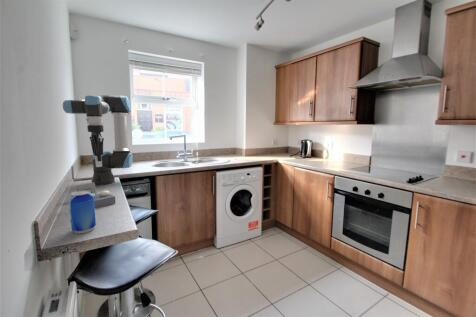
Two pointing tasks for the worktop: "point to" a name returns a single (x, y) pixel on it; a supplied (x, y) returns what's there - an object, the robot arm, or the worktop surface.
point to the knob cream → (104, 193)
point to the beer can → (82, 211)
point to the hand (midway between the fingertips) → (99, 166)
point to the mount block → (103, 200)
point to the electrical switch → (87, 187)
